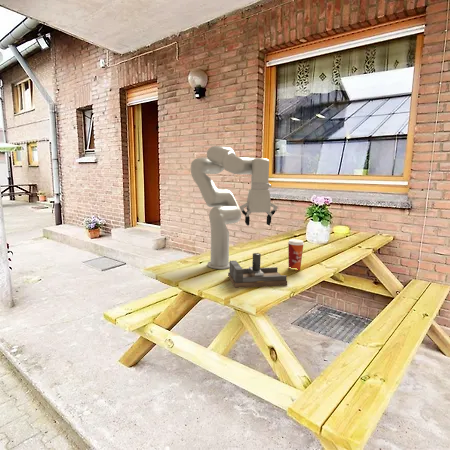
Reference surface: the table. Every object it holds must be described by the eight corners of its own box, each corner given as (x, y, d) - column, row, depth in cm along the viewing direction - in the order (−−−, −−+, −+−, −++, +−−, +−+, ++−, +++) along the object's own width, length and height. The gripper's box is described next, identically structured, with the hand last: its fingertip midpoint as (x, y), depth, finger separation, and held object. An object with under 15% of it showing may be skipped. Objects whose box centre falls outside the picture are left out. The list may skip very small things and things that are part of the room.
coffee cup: (294, 272, 169) (296, 243, 166) (283, 267, 175) (284, 240, 172) (306, 269, 173) (307, 241, 171) (294, 265, 180) (295, 238, 177)
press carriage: (248, 272, 159) (249, 251, 157) (256, 272, 160) (257, 251, 158) (254, 279, 149) (255, 257, 147) (263, 279, 150) (264, 256, 148)
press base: (228, 276, 160) (228, 260, 158) (275, 274, 165) (276, 258, 163) (235, 287, 145) (235, 270, 144) (287, 285, 150) (288, 268, 149)
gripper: (275, 186, 153) (273, 223, 156) (238, 186, 149) (237, 223, 152) (281, 187, 145) (279, 226, 148) (242, 187, 142) (241, 226, 145)
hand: (258, 224), depth 150 cm, fingers open, 9 cm apart
